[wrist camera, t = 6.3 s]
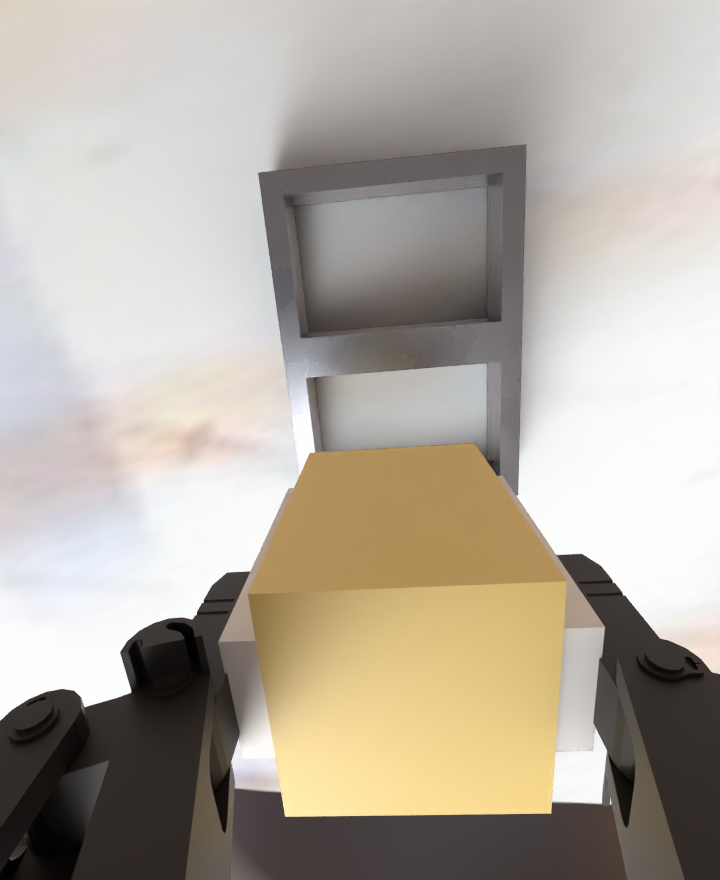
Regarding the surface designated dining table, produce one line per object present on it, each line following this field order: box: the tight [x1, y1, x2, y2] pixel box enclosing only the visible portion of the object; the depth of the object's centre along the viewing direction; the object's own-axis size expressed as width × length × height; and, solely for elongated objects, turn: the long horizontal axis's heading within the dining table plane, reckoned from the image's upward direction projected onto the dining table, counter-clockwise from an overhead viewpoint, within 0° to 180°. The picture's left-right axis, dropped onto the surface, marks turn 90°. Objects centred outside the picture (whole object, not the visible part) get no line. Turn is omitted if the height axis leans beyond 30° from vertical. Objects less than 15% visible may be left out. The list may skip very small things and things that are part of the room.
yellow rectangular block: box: [248, 443, 567, 817], centre depth 11 cm, size 5×5×7 cm
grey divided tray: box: [258, 145, 526, 495], centre depth 25 cm, size 17×12×3 cm
